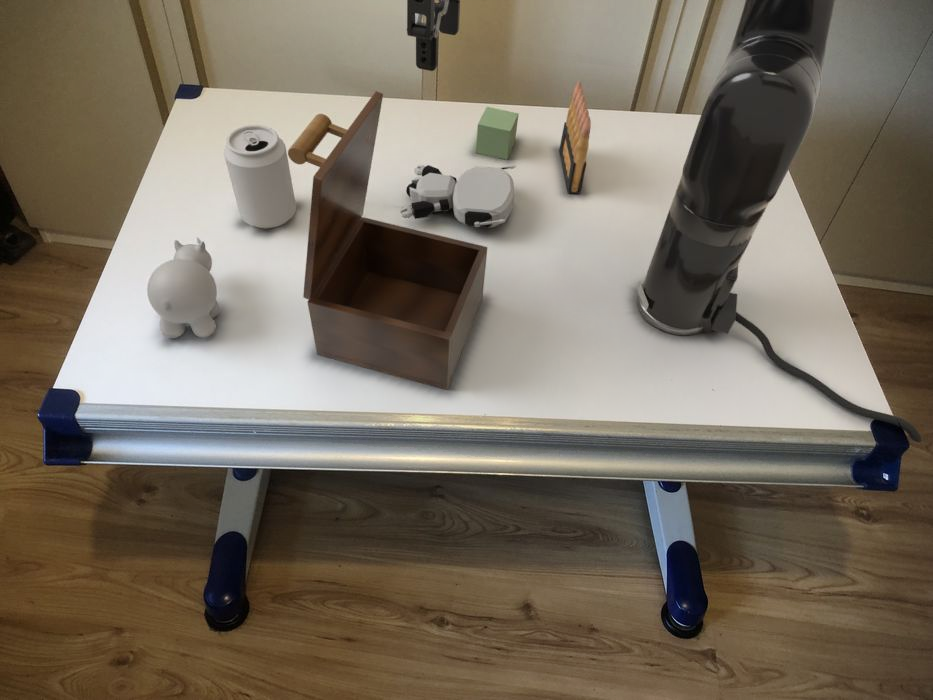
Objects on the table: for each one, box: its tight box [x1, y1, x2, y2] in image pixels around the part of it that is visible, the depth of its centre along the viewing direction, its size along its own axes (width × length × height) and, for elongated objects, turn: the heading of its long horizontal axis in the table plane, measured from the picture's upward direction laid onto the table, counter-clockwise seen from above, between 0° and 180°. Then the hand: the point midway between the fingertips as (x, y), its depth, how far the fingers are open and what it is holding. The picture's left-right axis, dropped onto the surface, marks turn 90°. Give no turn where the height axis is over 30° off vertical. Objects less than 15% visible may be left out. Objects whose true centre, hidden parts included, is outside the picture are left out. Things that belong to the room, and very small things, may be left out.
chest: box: [307, 216, 488, 390], centre depth 78 cm, size 16×15×9 cm
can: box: [223, 124, 297, 229], centre depth 89 cm, size 8×8×12 cm
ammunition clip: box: [558, 80, 592, 194], centre depth 98 cm, size 11×2×12 cm, turn 2°
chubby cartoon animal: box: [146, 237, 221, 339], centre depth 79 cm, size 7×12×8 cm, turn 179°
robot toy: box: [399, 164, 517, 229], centre depth 94 cm, size 12×4×15 cm
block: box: [475, 106, 520, 161], centre depth 104 cm, size 5×5×5 cm
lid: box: [287, 90, 384, 301], centre depth 69 cm, size 16×15×5 cm
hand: (438, 49), depth 77 cm, fingers open, 8 cm apart
